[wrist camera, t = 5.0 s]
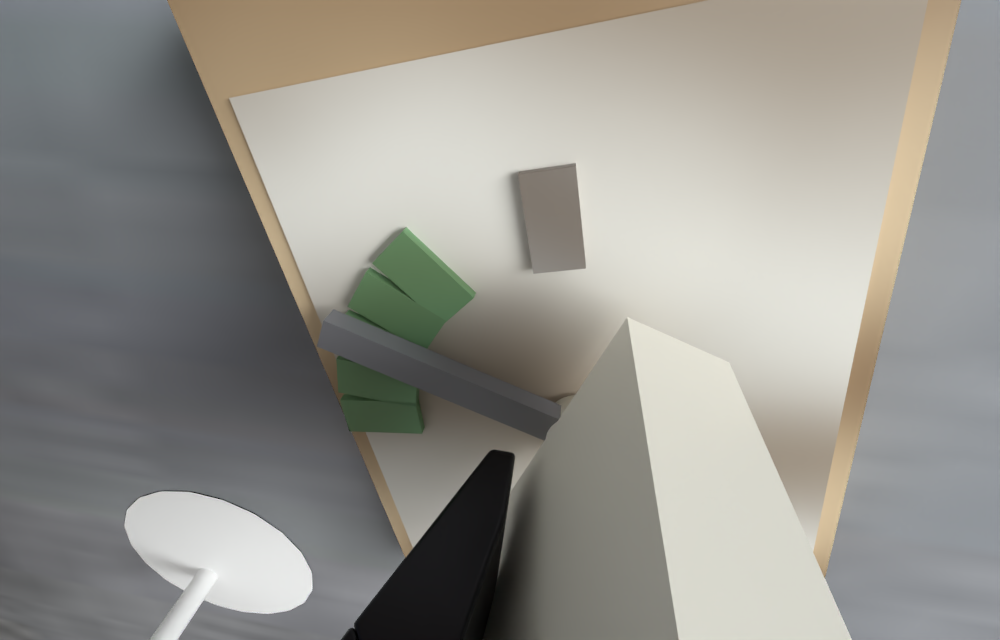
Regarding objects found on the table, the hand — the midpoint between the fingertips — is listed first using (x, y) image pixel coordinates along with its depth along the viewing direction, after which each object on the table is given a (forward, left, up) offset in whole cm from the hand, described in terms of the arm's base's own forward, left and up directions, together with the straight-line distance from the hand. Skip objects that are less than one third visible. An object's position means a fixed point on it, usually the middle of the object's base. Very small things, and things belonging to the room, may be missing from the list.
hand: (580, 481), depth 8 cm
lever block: (0, 0, -4) cm, 4 cm away
